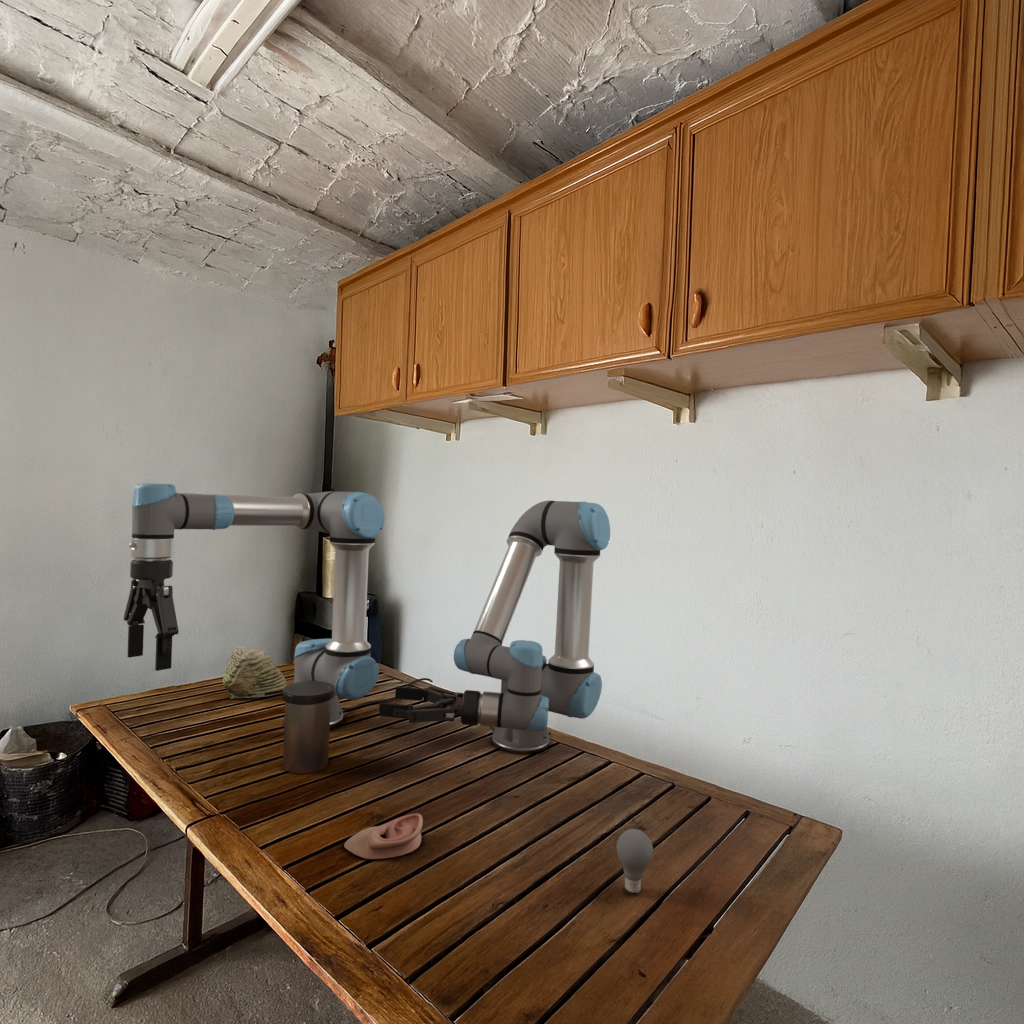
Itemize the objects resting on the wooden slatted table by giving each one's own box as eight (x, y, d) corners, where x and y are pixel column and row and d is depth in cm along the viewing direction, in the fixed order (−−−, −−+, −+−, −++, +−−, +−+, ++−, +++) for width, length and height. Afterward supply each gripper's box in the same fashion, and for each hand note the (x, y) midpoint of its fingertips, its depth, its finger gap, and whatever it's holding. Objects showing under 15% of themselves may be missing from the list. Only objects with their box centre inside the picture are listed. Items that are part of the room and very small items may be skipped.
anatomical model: (336, 832, 112) (364, 802, 124) (336, 854, 112) (363, 822, 124) (407, 843, 110) (429, 812, 121) (406, 866, 110) (428, 832, 121)
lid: (279, 706, 142) (279, 696, 142) (284, 690, 153) (284, 681, 153) (333, 704, 145) (333, 694, 145) (334, 688, 156) (334, 680, 156)
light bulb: (610, 879, 108) (613, 822, 108) (644, 879, 109) (647, 822, 109) (619, 902, 102) (622, 840, 102) (655, 901, 103) (658, 840, 103)
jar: (280, 775, 143) (283, 697, 143) (284, 756, 153) (287, 684, 153) (327, 772, 146) (330, 696, 145) (328, 754, 156) (331, 683, 155)
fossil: (218, 695, 195) (220, 647, 195) (278, 685, 208) (279, 640, 207) (228, 703, 189) (230, 653, 188) (289, 692, 201) (290, 645, 201)
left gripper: (108, 554, 134) (104, 654, 134) (159, 565, 118) (155, 678, 119) (146, 552, 140) (143, 648, 140) (199, 563, 124) (195, 671, 124)
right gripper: (471, 744, 131) (370, 735, 132) (485, 708, 156) (400, 701, 157) (473, 708, 131) (373, 699, 132) (487, 678, 156) (402, 671, 157)
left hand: (148, 662), depth 129 cm, fingers open, 13 cm apart
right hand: (387, 700), depth 145 cm, fingers open, 13 cm apart
